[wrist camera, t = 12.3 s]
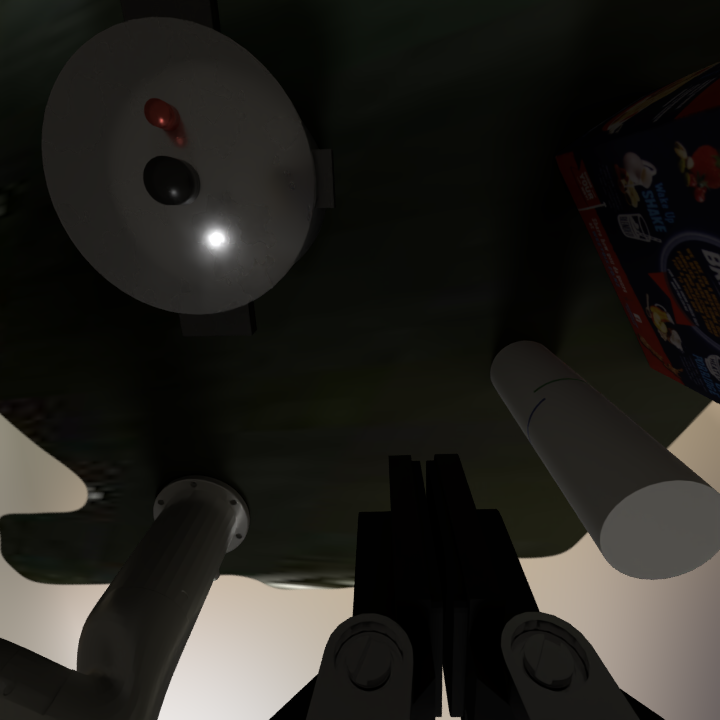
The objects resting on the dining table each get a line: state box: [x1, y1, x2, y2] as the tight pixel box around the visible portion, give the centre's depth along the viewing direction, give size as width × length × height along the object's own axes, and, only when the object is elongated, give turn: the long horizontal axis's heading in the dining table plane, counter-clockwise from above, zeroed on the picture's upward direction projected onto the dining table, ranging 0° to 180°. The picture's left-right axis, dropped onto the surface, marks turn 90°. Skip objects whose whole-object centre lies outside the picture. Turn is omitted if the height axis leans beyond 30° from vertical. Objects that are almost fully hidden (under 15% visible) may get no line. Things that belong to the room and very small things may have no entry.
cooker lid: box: [42, 17, 316, 315], centre depth 29 cm, size 19×19×3 cm
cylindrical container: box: [490, 340, 720, 580], centre depth 36 cm, size 7×7×25 cm
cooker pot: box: [121, 0, 336, 336], centre depth 36 cm, size 24×20×12 cm
